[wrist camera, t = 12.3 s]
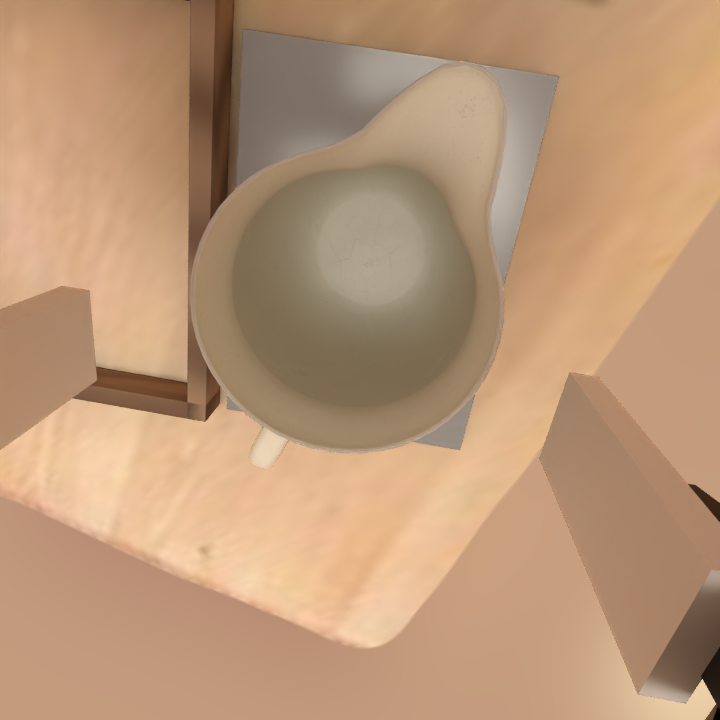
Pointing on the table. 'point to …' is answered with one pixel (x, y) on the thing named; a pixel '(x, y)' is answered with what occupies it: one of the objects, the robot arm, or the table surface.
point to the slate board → (357, 108)
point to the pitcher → (361, 275)
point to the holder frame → (190, 216)
